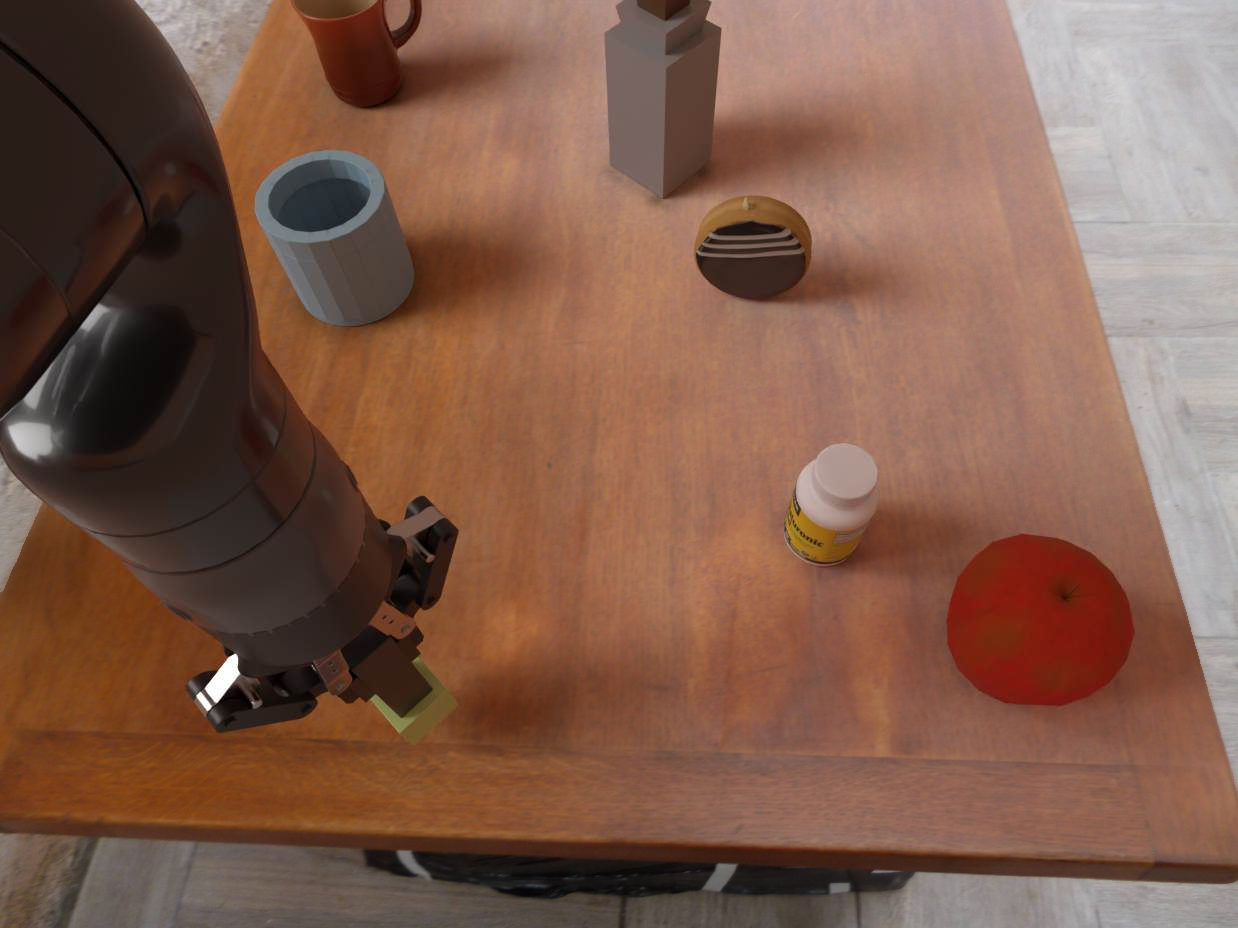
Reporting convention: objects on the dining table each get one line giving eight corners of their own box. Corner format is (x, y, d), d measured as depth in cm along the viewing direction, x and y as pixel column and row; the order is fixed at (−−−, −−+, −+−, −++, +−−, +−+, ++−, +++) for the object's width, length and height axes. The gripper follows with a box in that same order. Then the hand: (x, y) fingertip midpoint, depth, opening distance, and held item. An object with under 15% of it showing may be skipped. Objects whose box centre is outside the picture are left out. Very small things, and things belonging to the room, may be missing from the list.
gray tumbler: (344, 346, 71) (303, 263, 62) (277, 283, 75) (229, 196, 66) (437, 280, 74) (410, 192, 66) (369, 222, 78) (334, 132, 69)
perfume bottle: (710, 161, 81) (726, -27, 65) (662, 199, 79) (667, 13, 63) (657, 129, 83) (661, -60, 68) (610, 165, 81) (601, -22, 65)
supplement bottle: (768, 516, 62) (788, 448, 54) (834, 490, 63) (863, 420, 55) (803, 580, 60) (830, 520, 51) (871, 552, 61) (908, 489, 52)
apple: (921, 571, 60) (976, 496, 50) (1068, 583, 59) (1154, 510, 49) (932, 716, 55) (996, 665, 45) (1092, 731, 54) (1194, 683, 44)
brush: (413, 746, 52) (348, 688, 40) (378, 704, 54) (305, 637, 42) (458, 704, 53) (408, 636, 42) (423, 664, 55) (364, 587, 43)
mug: (347, 128, 84) (312, 32, 76) (312, 81, 88) (275, -16, 79) (454, 83, 88) (432, -15, 79) (416, 40, 91) (391, -59, 82)
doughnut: (689, 296, 73) (695, 209, 64) (695, 264, 75) (702, 174, 66) (799, 311, 72) (821, 224, 63) (803, 278, 74) (825, 189, 65)
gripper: (353, 360, 35) (439, 537, 50) (31, 590, 30) (234, 708, 45) (472, 474, 32) (525, 624, 47) (139, 746, 27) (316, 816, 42)
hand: (382, 665), depth 46 cm, fingers closed on brush, 2 cm apart
